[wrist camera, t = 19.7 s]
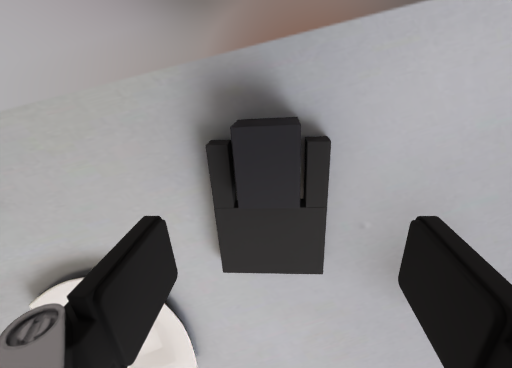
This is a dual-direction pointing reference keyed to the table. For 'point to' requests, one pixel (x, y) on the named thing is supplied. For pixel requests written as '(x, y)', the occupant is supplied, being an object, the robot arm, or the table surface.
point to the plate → (157, 342)
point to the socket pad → (271, 217)
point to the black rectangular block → (267, 162)
